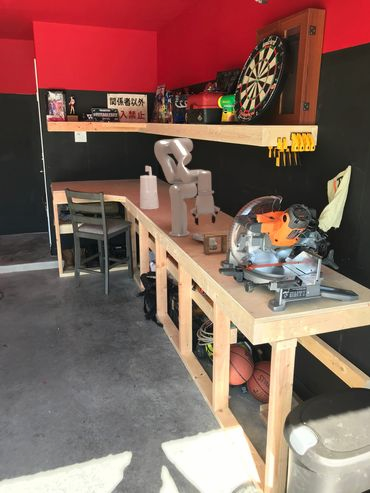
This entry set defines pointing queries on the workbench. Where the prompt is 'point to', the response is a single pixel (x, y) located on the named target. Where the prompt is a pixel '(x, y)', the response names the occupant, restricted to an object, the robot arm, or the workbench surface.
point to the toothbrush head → (201, 238)
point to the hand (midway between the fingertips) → (205, 223)
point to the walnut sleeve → (214, 235)
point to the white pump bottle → (148, 191)
